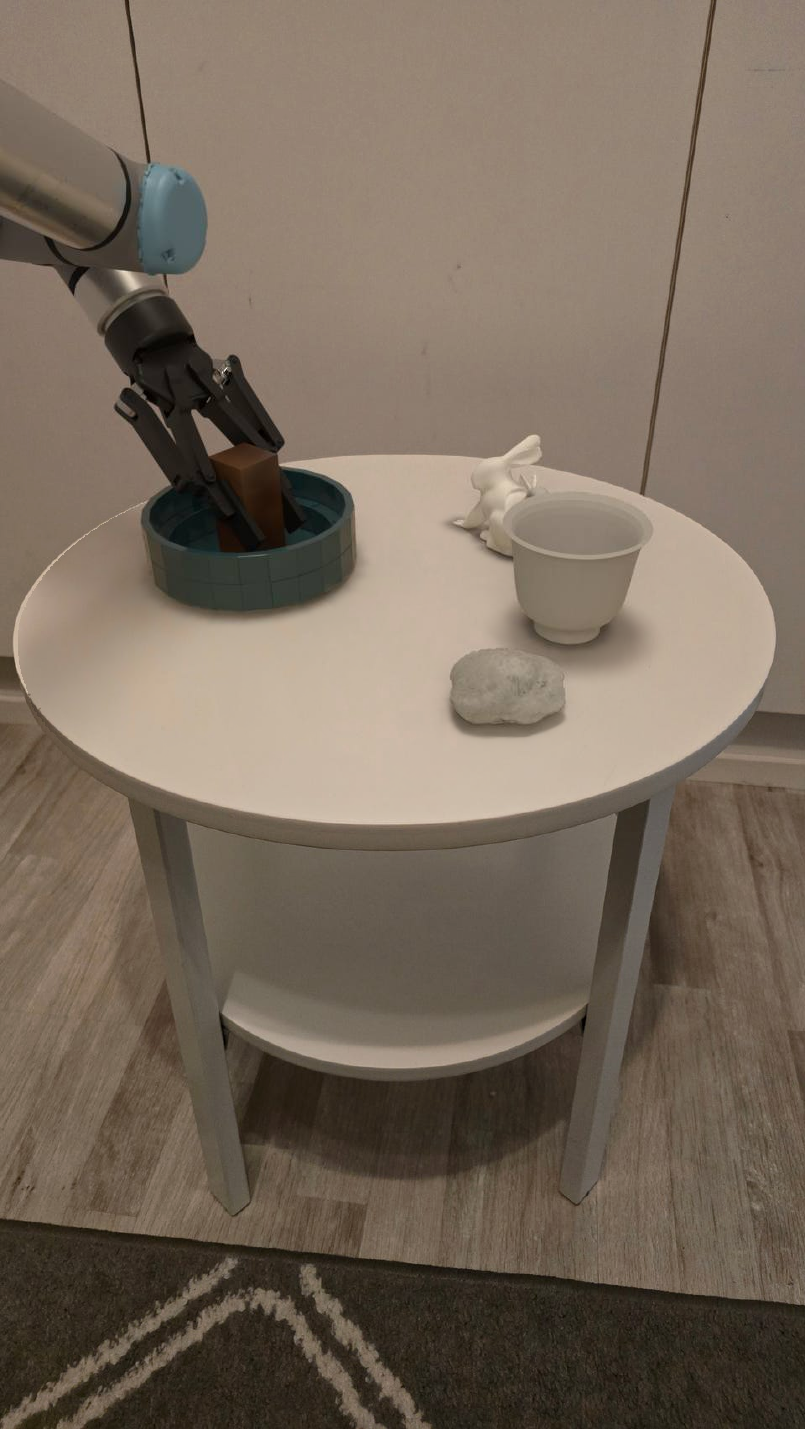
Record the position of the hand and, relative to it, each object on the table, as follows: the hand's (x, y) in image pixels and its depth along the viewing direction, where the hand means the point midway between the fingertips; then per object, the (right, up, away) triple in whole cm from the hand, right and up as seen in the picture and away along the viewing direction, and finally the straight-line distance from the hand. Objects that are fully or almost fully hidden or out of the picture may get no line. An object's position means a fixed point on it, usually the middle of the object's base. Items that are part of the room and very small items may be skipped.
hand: (277, 536), depth 90 cm
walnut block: (-3, -1, +4) cm, 5 cm away
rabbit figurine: (+23, +1, +9) cm, 24 cm away
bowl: (-3, -2, +5) cm, 6 cm away
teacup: (+25, -8, -4) cm, 27 cm away
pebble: (+19, -16, -14) cm, 29 cm away
